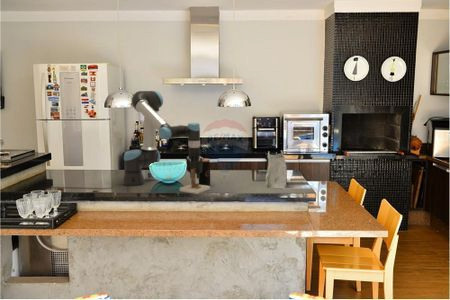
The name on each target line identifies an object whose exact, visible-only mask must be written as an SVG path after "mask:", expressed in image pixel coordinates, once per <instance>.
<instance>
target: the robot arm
mask: <svg viewBox="0 0 450 300" xmlns="http://www.w3.org/2000/svg"><path fill="white" fill-rule="evenodd" d="M163 98H164V97H163V96H162V93H160V92H159V91H157V90H139V91H135V92H134V94H133V95H132V96H131V105H132V107H133V109H134V110H135V111H136V112H138V113H140V114H141V115H142V116H143V117H144V118H143V138H142V139H143V140H142V141H143V143H142V146H141V147H140V149H131V150H126V151H124V154H123V161H124V163H123V165H124V166H123V168H124V175H123V178H122V180H121V182H122V184H121V185H123V186H129V187H134V186H135V187H136V186H137V187H138V186H142V185H145V179H144V175H143V173H142V172H143V171H142V168H149V167H150V166H149V165H150V164H151V163H154V162H160V161H161V154H160V151H159V150H158V148H157V147H156V141H157V139H156V138H157V137H156V135H157V131H158V135H159V138H160V139H162V140H169V139H178V138H179V139H180V138H187V139H188V140H187V142H188V143H187V144H188V156H185V161H186V169H187V173H189V175H190V176H189V177H190V179H191V169H194V168H195V167H196V174H195V184H197V183H199V178H200V173H201V172H202V168H203V160H204V157H202V156H201V126H200V123H198V122H189V123H187V125H182V124H180V125H179V124H178V125H174V126H173V125H172V126H171V125H170V124H169V123H168V122H167V121H166V120H165V119H164V118H163V117H162V116H161V115H160V114H159V113H158V112H159V111H160V108H161V107H163V103H164V99H163ZM199 160H200V161H199Z"/></svg>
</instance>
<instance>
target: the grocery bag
mask: <svg viewBox="0 0 450 300" xmlns="http://www.w3.org/2000/svg"><path fill="white" fill-rule="evenodd" d="M267 152H268V153H267V168H266V174H265V184H266V188H267V189H271V188H272V189H273V188H274V189H280V188H281V189H286V188H287V180H288V179H287V163H286V158H285V156H284V153H283V150H280V153H278V154H270V151H267Z"/></svg>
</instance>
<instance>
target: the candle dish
mask: <svg viewBox="0 0 450 300" xmlns="http://www.w3.org/2000/svg"><path fill="white" fill-rule="evenodd" d="M210 190H211V187H210V185H209V186H206V185H199V187H196V188H192V187H191V184H187V185H184V186H181V187H179V192H180V193H181V192H182V193H187V194H188V193H189V194H194V195H199V194H201V193H205V192H208V191H210Z"/></svg>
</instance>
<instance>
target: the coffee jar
mask: <svg viewBox="0 0 450 300" xmlns="http://www.w3.org/2000/svg"><path fill="white" fill-rule="evenodd" d="M203 158H204V157H203ZM199 161H200V160H199ZM210 161H211V158H206V157H205V158H204V160H203V168H202V172H201V173H200V178H199V185H206V186H210V185H211V162H210ZM194 168H196V167H195V166H194Z"/></svg>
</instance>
